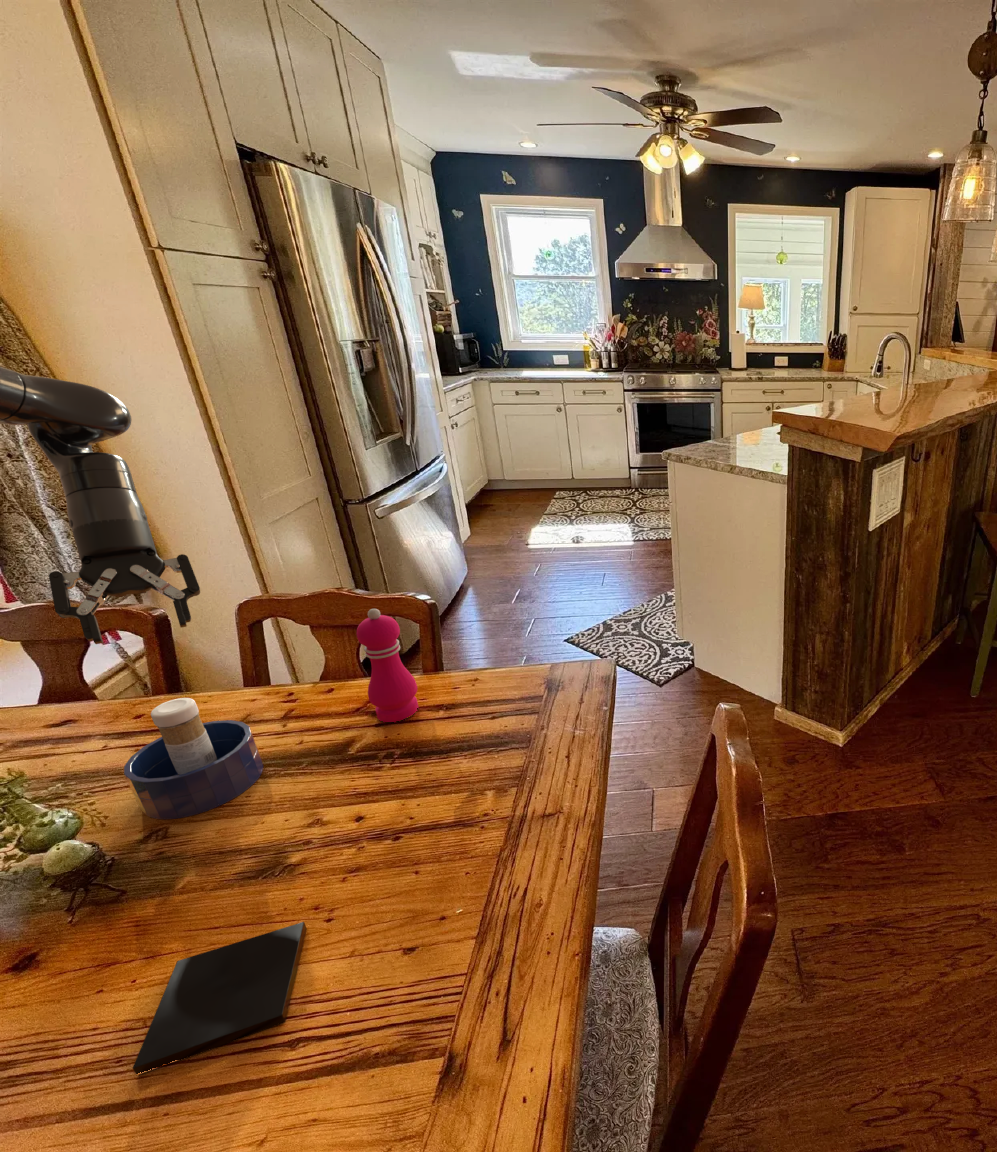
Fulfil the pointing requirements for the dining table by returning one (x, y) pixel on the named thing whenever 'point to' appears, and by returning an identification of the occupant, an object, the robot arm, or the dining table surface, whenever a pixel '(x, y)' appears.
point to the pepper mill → (387, 669)
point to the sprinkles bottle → (184, 734)
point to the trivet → (223, 996)
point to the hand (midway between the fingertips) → (142, 634)
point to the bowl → (195, 774)
